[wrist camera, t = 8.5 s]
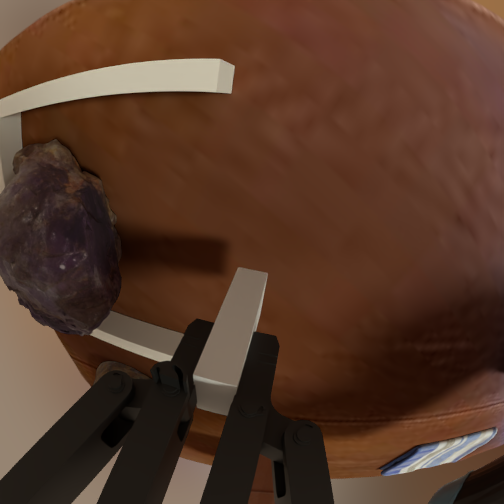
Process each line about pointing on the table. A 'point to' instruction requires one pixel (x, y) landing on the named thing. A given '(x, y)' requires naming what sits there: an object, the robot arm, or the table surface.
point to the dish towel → (438, 452)
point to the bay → (100, 84)
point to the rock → (59, 240)
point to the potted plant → (262, 483)
